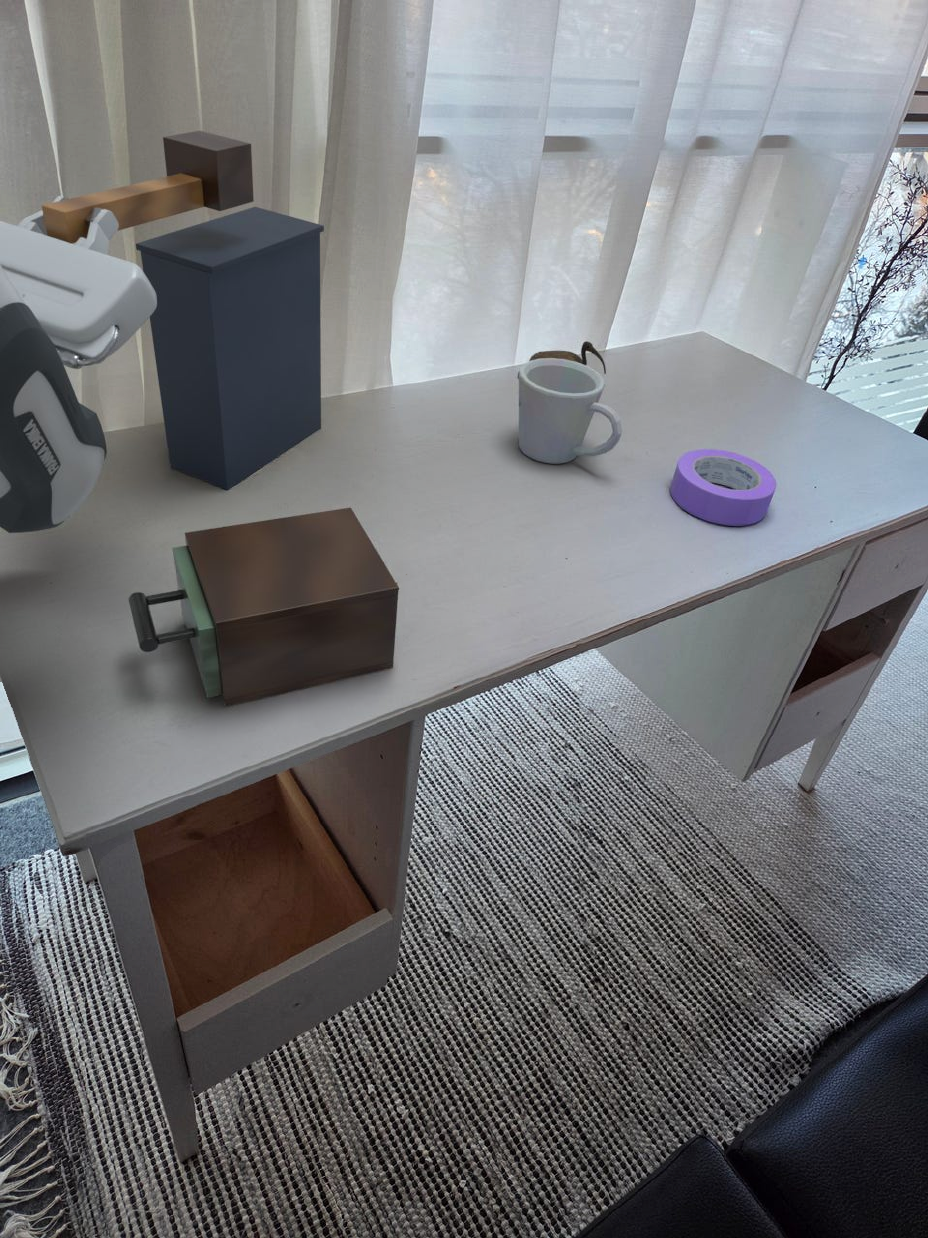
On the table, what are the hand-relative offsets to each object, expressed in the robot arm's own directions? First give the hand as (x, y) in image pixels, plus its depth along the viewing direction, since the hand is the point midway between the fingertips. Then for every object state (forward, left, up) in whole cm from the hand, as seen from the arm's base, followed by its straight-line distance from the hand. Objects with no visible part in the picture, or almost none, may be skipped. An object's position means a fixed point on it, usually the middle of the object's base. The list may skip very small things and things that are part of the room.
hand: (90, 209), depth 68 cm
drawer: (+5, -24, -29) cm, 38 cm away
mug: (+50, -1, -30) cm, 58 cm away
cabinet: (+9, -24, -29) cm, 39 cm away
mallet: (+5, +4, -2) cm, 7 cm away
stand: (+14, +11, -29) cm, 34 cm away
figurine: (+59, +15, -30) cm, 68 cm away
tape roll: (+64, -15, -30) cm, 72 cm away
